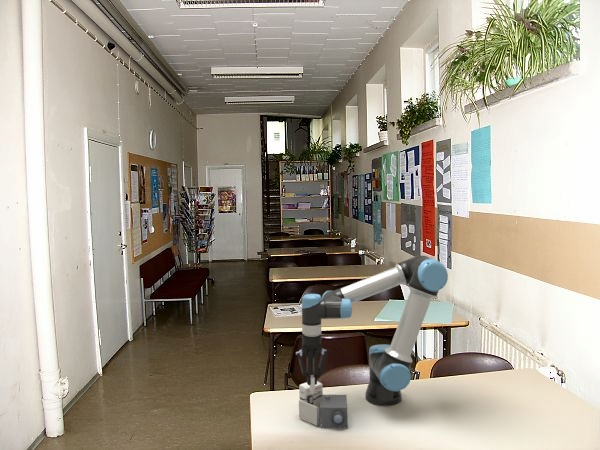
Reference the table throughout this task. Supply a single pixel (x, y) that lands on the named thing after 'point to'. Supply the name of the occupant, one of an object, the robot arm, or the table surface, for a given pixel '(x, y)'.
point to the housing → (334, 411)
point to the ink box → (311, 398)
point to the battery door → (309, 413)
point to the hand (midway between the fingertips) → (312, 392)
